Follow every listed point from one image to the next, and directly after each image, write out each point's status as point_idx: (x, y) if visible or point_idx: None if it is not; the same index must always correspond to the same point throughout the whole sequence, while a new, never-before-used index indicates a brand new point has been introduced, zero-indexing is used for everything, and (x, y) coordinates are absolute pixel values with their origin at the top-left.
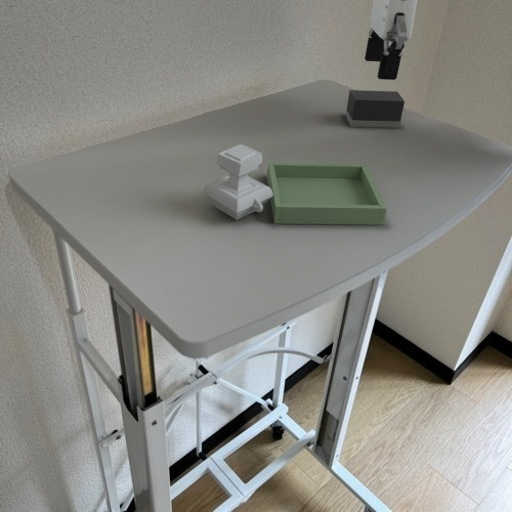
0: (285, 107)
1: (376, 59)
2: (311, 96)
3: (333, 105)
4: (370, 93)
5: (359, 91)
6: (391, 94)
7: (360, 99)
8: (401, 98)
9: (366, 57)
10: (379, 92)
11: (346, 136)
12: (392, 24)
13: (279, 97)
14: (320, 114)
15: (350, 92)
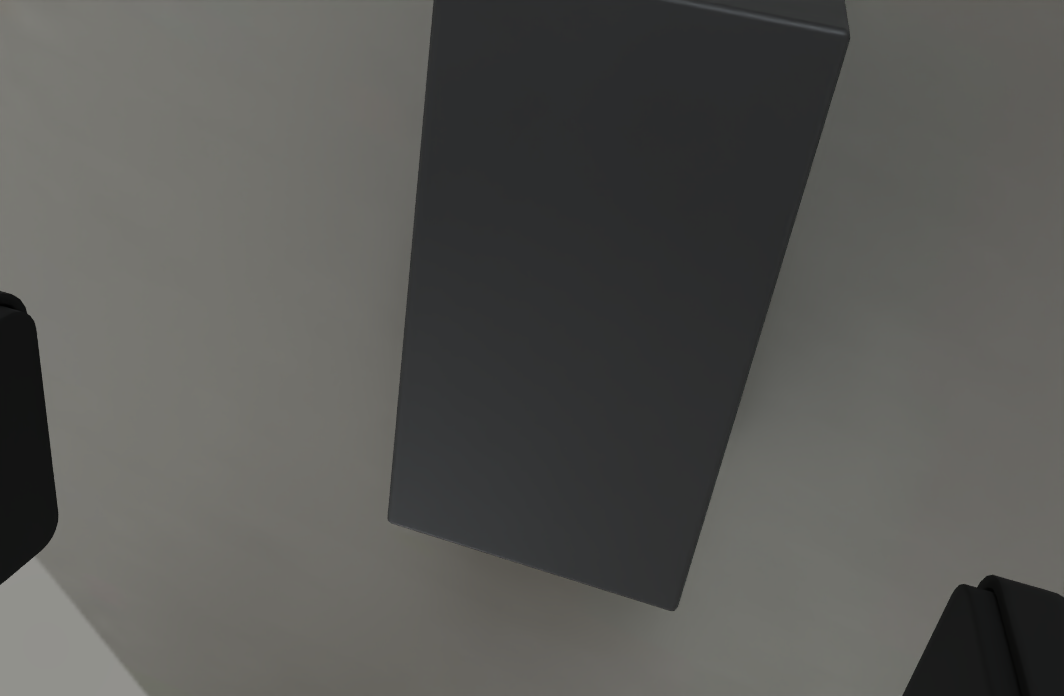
0: (313, 683)
1: (20, 405)
2: (97, 447)
3: (257, 373)
4: (500, 368)
5: (431, 452)
6: (551, 109)
7: (678, 565)
8: (731, 33)
9: (20, 564)
10: (471, 241)
11: (896, 569)
12: None
13: (148, 641)
14: (437, 543)
15: (441, 536)
